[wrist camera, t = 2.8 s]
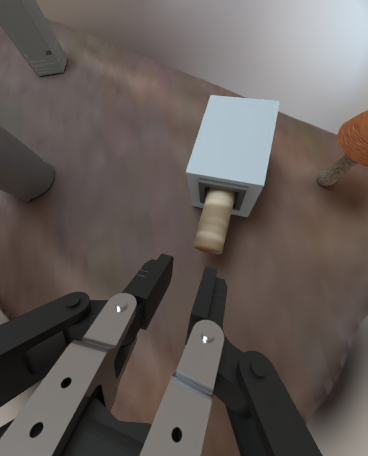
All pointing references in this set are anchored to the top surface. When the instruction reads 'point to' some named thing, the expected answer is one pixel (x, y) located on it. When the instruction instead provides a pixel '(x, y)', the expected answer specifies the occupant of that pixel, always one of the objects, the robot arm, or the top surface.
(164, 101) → the top surface
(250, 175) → the block
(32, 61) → the skincare box
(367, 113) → the mushroom
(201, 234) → the peg
